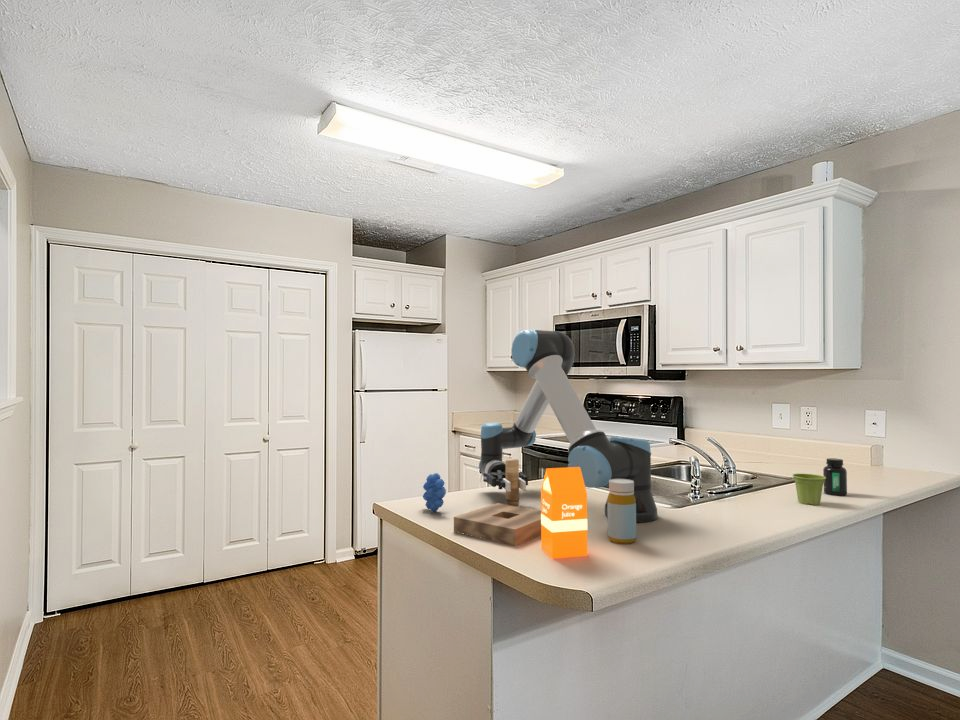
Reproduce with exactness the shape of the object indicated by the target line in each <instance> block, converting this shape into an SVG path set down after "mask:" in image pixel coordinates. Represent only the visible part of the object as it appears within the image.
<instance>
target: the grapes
mask: <svg viewBox="0 0 960 720" xmlns="http://www.w3.org/2000/svg"><path fill="white" fill-rule="evenodd" d="M422 488H423V489H424V491H425V492H424V493H423V495H422V498H423V500H425V507H426V508H427V509H429V510H431V511H432V512H434V513H435V512H437V511H438V510H439V508H441V507H442V506H444V503H445V501H444V500H443V498H444V497H445V496H446V493H447V489H446V487H445V481H444V480H443V478H441V475H440V474H439V473H437V472H435V473H431V474H429V475H428V476H427V477H426V479H425V482H424V484H423V487H422Z"/></svg>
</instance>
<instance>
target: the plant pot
mask: <svg viewBox="0 0 960 720" xmlns="http://www.w3.org/2000/svg"><path fill="white" fill-rule="evenodd" d="M791 476H792V478H793V481H794V482H795V483H794V484H795V488H796V489H795V490H796V496H797V501H798V503H800V504H803V505H808V504H809V505H812V506H818V505H820V504H821V499H822V493H823V489H824V480H825V479H826V477H824V476H823V475H821V474H820V475H819V474H812V473H793V474H792V475H791Z"/></svg>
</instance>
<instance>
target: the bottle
mask: <svg viewBox="0 0 960 720" xmlns="http://www.w3.org/2000/svg"><path fill="white" fill-rule="evenodd" d="M608 488H609V489H608V495H609V496H608V495H607V498H608V501H607V500H606V501H607V511H608V517H607V538H608V540H610V542H612V543H614V544H619V545H631V544H633V543H635V542H636V541H637V522H636V499H635V496H634V481H633V480H629V479H611V480H609V485H608Z"/></svg>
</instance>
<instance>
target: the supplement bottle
mask: <svg viewBox="0 0 960 720" xmlns="http://www.w3.org/2000/svg"><path fill="white" fill-rule="evenodd" d="M825 464H826V466H824V467H823V473H822V476H824V477H826V479H825V480H824V484H823V493H824V494H825V495H827V496H834V497H846V496H847V495H848V478H847V477H848V472H847V471H848V470H847V469H846V468H845V467H844V460H843V459H842V458H826V462H825Z"/></svg>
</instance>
